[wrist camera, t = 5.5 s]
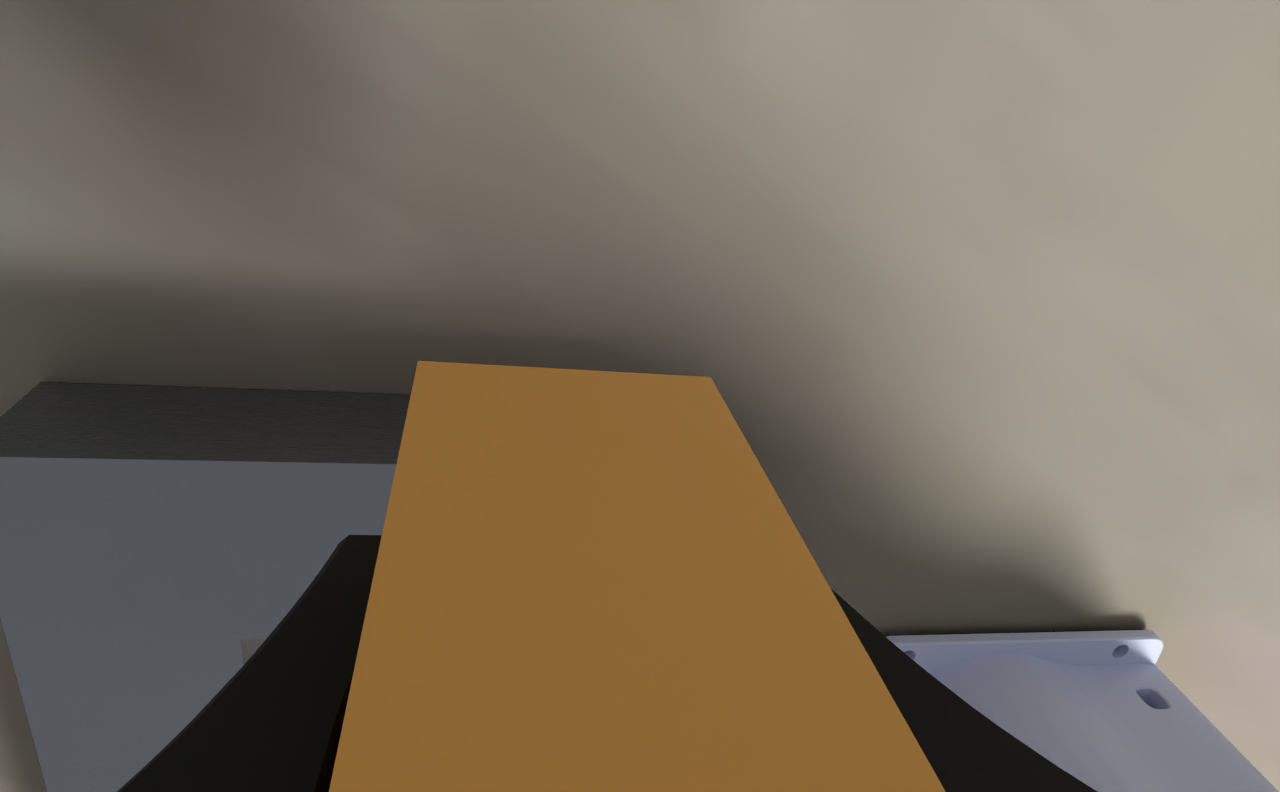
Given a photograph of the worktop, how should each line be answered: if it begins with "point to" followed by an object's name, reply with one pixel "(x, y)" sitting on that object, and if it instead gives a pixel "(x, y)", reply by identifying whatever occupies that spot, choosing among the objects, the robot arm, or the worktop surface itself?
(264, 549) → the grey square-hole board
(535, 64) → the worktop surface
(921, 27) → the worktop surface
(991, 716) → the robot arm
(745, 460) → the block
